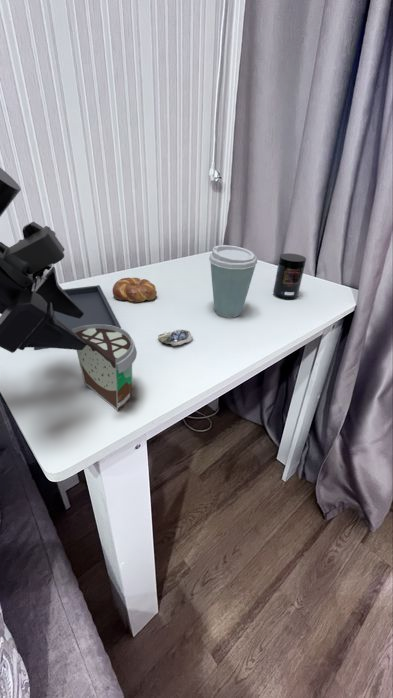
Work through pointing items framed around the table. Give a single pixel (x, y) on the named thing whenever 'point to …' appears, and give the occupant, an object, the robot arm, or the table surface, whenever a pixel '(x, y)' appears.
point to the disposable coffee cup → (231, 278)
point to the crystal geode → (176, 337)
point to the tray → (88, 308)
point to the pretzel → (134, 289)
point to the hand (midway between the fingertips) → (83, 330)
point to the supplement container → (289, 275)
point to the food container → (107, 362)
